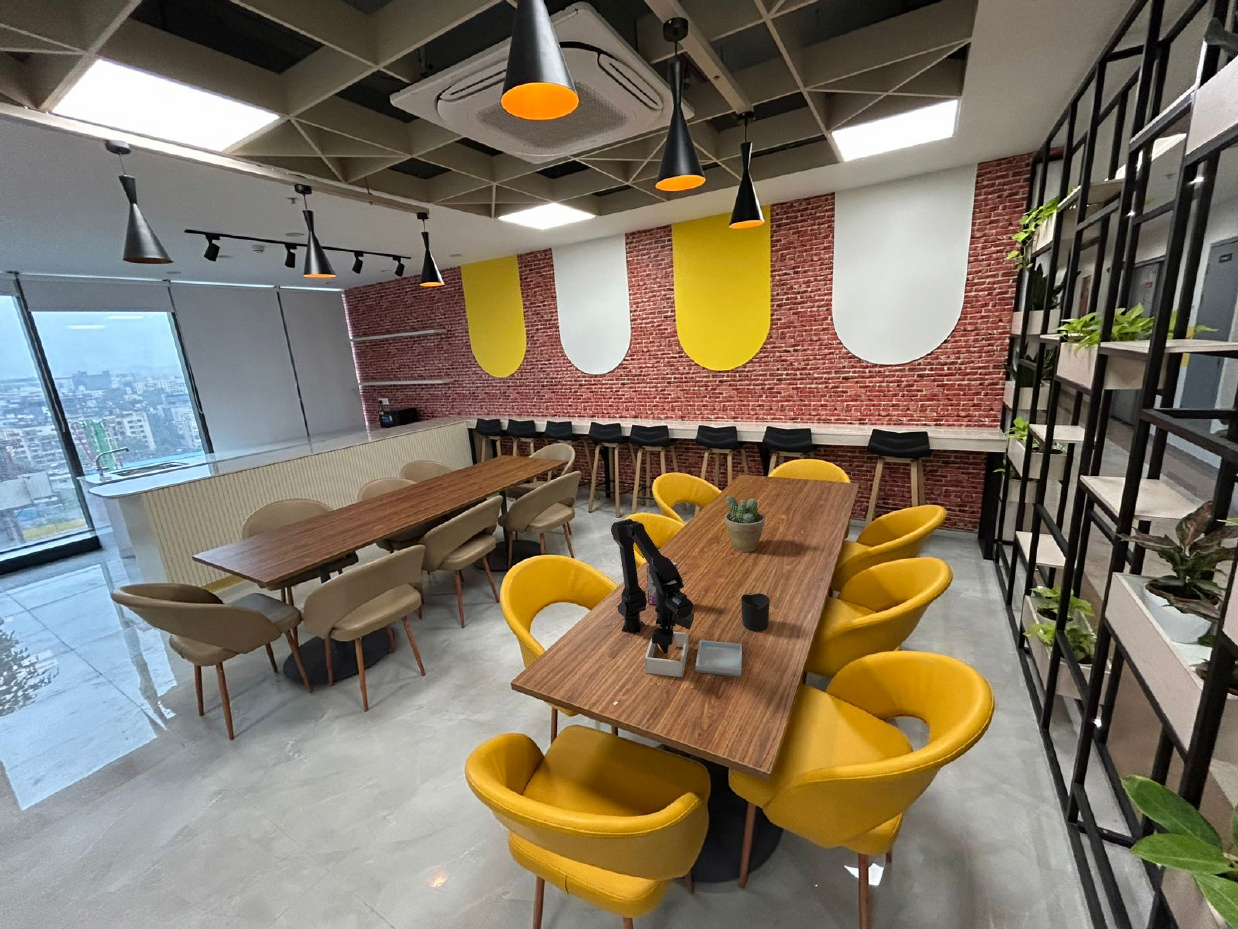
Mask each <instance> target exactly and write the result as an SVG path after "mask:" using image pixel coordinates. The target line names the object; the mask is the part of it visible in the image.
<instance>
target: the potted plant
mask: <svg viewBox="0 0 1238 929" xmlns="http://www.w3.org/2000/svg"><path fill="white" fill-rule="evenodd" d="M725 501H726V504H727V506H728V511H729V512H727V513H726V514H725V515H724V522H725V527H726V528H727V529H726V530H727V533H728V537H729V538H728V539H729V540H730V544H731V547H732V548H733V550H735V551H737V552H739V553H752V552H755V551H756V550H758V547H759V543H760V541H761V537H762V533H763V529H764V527H765V522H766V516H765V515H764V514H762V513H759V512H758V510H759V508H758V507H759V506H758V505H759V504H758V503H759V502H758V501H757V499H755V498H749V499H748V500H747V501H746V500H744V499H741V500H740V501H739V502H737V500H736V498H735V497H734V495H729V496H727V497H726V498H725Z"/></svg>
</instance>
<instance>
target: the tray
mask: <svg viewBox="0 0 1238 929" xmlns="http://www.w3.org/2000/svg"><path fill="white" fill-rule="evenodd" d="M742 658H743V644H742V643H737V642H736V643H735V642H725V641H715V640H714V641H713V640H705V639H704V640H703V639H700V640H699V642H698V649H697V655H696V662H695V673H703V674H710V675H711V674H712V675H721V676H729V677H730V676H731V677H738V678H742V667H743V666H742V661H743V660H742Z"/></svg>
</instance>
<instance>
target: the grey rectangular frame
mask: <svg viewBox="0 0 1238 929" xmlns="http://www.w3.org/2000/svg"><path fill="white" fill-rule="evenodd" d="M673 632H674V637H675V638H676V641H677V647H676V648H682V651H681V654H680V660H677V659H676V660H674V659H665V658H655V657H653V656H654V652H655V650H656V646H658V644H654V643H652V639H651V638H650V641H649V643H648V647H647V650H646V653H645V655H644V672H645V674H651V675H662V676H671V677H678V678H683V677H684V672H685V667H686V663H687V662H686V661H687V656H688V653H689V652H688V651H689V646H690V645H689V632H680V631H679V632H677V631H673Z"/></svg>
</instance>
